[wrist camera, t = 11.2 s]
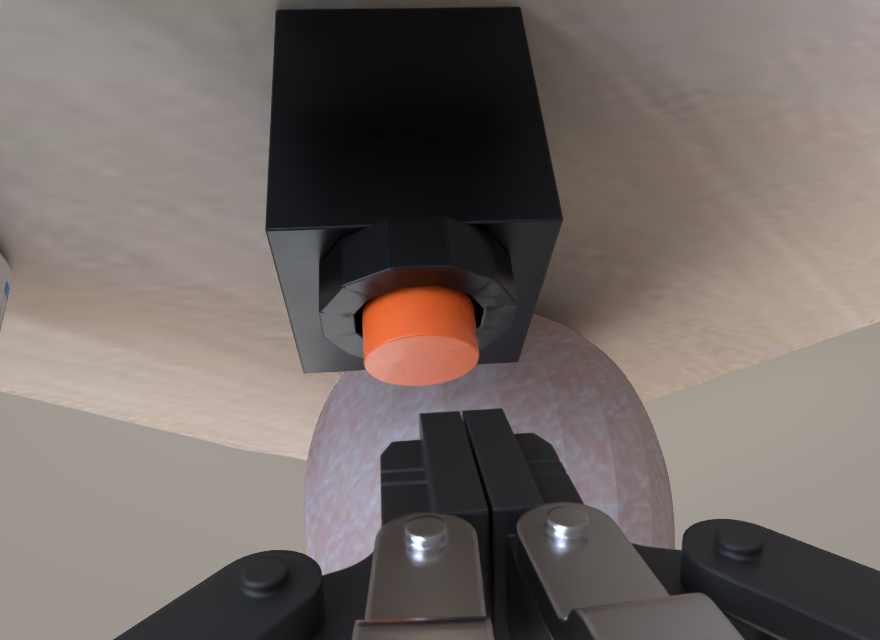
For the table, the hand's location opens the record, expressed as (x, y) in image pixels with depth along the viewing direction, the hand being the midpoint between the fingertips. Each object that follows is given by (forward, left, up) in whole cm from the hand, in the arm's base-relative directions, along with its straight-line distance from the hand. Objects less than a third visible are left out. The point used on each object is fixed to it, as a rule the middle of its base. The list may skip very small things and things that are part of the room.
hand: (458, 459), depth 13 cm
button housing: (0, -12, -22) cm, 25 cm away
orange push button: (0, -10, -9) cm, 13 cm away
